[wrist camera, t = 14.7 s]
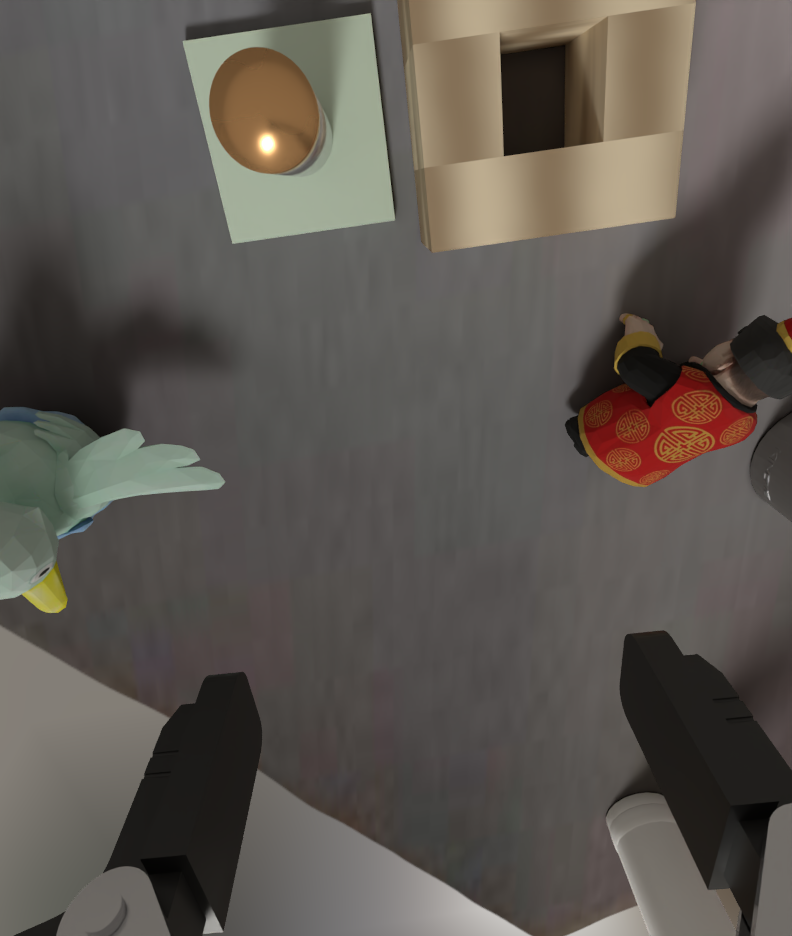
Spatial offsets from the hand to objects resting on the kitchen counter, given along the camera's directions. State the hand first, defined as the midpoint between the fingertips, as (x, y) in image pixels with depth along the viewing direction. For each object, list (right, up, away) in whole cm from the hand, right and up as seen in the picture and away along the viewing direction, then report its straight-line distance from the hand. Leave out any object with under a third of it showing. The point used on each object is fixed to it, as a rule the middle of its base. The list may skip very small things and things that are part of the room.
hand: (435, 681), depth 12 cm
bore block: (+6, +25, +20) cm, 33 cm away
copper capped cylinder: (-6, +23, +20) cm, 31 cm away
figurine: (+17, +11, +28) cm, 35 cm away
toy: (-24, +5, +29) cm, 38 cm away
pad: (-7, +24, +20) cm, 32 cm away
